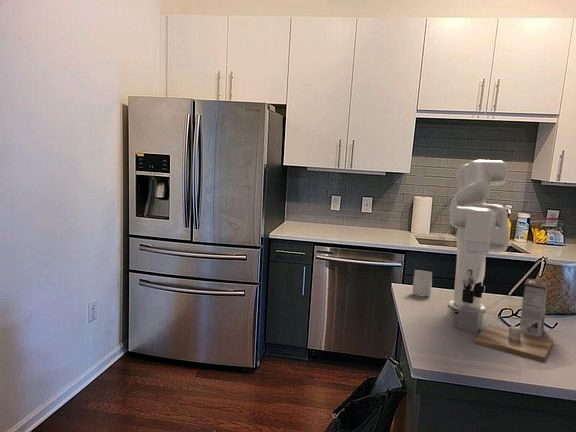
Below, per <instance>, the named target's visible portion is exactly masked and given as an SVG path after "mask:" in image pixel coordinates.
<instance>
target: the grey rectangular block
mask: <svg viewBox="0 0 576 432" xmlns="http://www.w3.org/2000/svg"><path fill="white" fill-rule="evenodd" d="M432 284H433V271H426V270H425V271H424V270H421V269H420V270H417V269H414V276H413V281H412V293H411V294H417V295H416V296H418V295H423V296H422V297H425V296H428V297H427V298H430V297H431V296H432ZM430 295H431V296H430Z"/></svg>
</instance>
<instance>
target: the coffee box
mask: <svg viewBox="0 0 576 432" xmlns="http://www.w3.org/2000/svg"><path fill="white" fill-rule="evenodd" d="M548 287H549V281H546V280H545V281H543V280H540V279H535V278H526V280H525V282H524V283H523V293H522V295H523V296H522V301H521V302H522V304H521V313H520V323H519V328H521V333H525V334H529V335H534V336H538V337H542V335H543V332H544V328H545V319H546V310H547V309H546V307H547V301H548V291H549V288H548Z"/></svg>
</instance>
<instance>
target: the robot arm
mask: <svg viewBox="0 0 576 432" xmlns="http://www.w3.org/2000/svg"><path fill="white" fill-rule="evenodd" d="M508 177H509V168H508V164H507V163H506V161H504V160H493V159H492V160H490V159H487V160H486V159H476V160H472V161H470V162H468V163H465V164H462V165H460V166H459V167H458V169H457V171H456V184H457V185H456V186H457V189H458V192H457V193H455V194H454V196H453V198H452V199H451V203H450V207H449V208H450V209H449V222H450V225H451V226H452V227H453V228H456V229H457V230H456V266H455V278H454V279H455V280H454V289H453V290H454V292H453V299H452V300H450V301H448V306H449V307H450V308H451V309H454V310H457V311H458V310H459V309H460V308H462V307H463V306H468V307H472V308H477V309H481V310H483V312H485V310H486V306H485V305H484V304H482V296H483V286H484V285H483V284H484V279H485V276H486V275H485V273H486V259H487V254H488V255H489V253H504V252H506V251H507V250H508V248H509V243H510V234H509V233H510V232H509V217H508V210H507V209H506V207H505V206H503V205H501V204H496V203H495V204H494V203H486V199H487V198H488V197H489V195H490V193H491V186H493V187H494V186H495V187H496V186H502V185H504V184H505V183H506V181H508Z"/></svg>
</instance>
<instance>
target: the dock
mask: <svg viewBox="0 0 576 432" xmlns="http://www.w3.org/2000/svg"><path fill="white" fill-rule="evenodd" d="M484 328H485V329H483V330H482V331H481V332H480V333H479V334H478V335H477V336H476V337H475V339H474V343H475V344H478V345H481V346H486V347H489V348H493V349H496V350H499V351H503V352H508V353H510V354H515V355H519V356H522V357H526V358H530V359H533V360H537V361H541V362H545V361H546V358H547V357H548V354H549V352H550V350H551V349H552V346H553V343H554V339H549V338H547V337H546V338H545V337H542V336H541V337H540V336H535V335H531V334H526V333H522V332H521V328H520V326H519V327H518V326H514V325H513V326H509V328H505V327H500V326H496V325H492V324H488V325H487V326H486V327H484Z"/></svg>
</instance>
